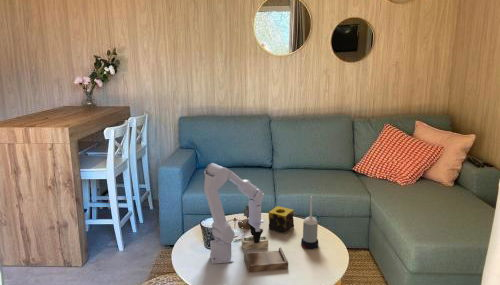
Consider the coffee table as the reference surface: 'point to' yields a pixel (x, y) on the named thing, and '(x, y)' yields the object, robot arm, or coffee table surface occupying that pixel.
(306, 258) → the coffee table surface
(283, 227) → the candle
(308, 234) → the humidifier
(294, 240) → the coffee table surface
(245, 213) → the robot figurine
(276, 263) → the wooden tray
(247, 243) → the tumbler tray
